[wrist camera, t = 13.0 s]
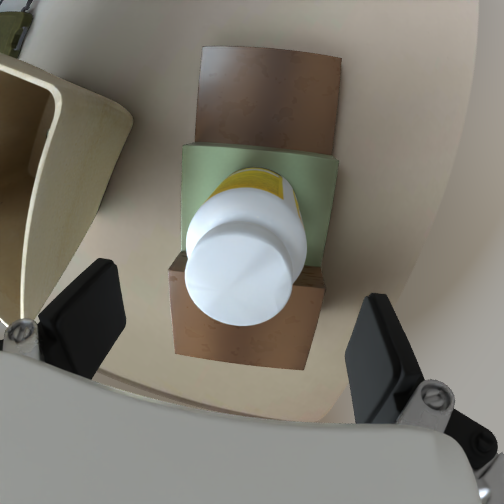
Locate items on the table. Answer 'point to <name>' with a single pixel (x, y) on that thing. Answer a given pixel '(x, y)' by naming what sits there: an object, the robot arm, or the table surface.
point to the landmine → (14, 30)
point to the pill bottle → (245, 248)
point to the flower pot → (49, 178)
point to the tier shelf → (265, 120)
